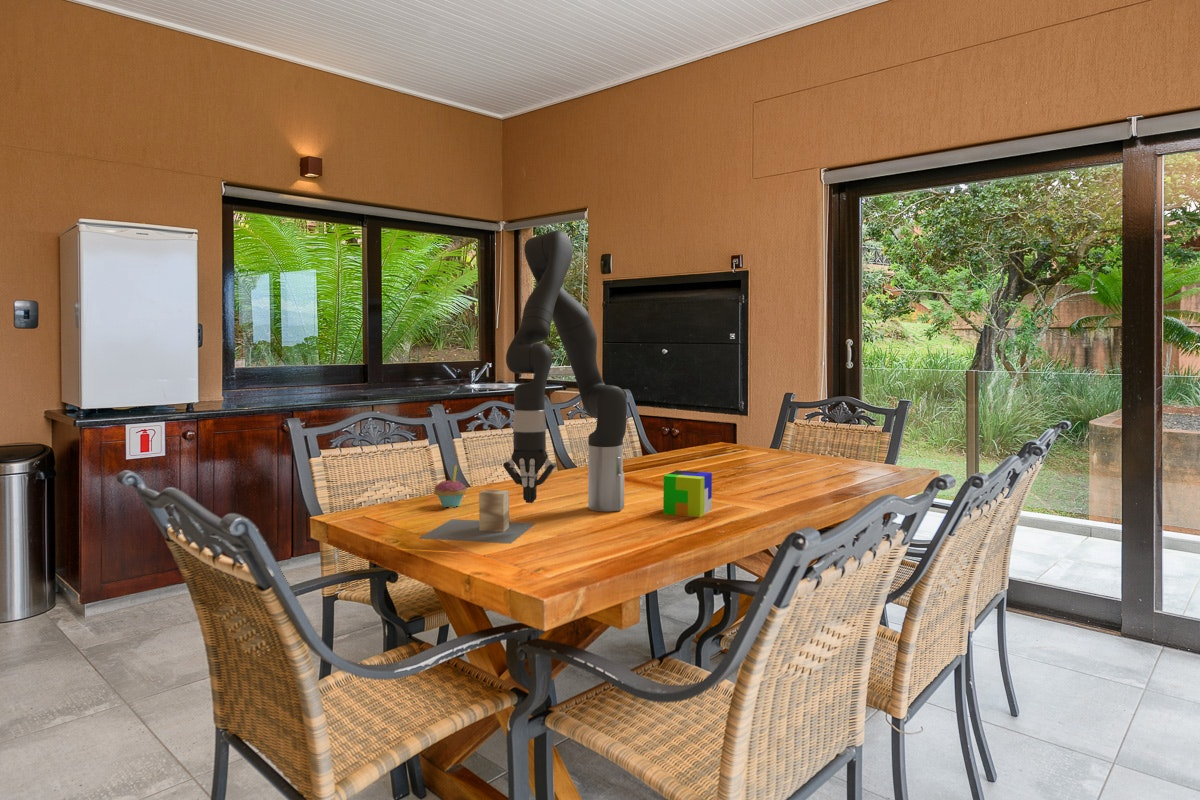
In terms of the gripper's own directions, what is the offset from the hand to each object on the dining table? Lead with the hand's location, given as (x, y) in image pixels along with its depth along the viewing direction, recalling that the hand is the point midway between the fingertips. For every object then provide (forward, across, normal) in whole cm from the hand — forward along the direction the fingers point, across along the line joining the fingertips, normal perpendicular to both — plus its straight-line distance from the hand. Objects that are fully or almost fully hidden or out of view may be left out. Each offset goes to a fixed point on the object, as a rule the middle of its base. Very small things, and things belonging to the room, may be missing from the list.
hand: (529, 502), depth 180 cm
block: (+7, +9, 0) cm, 11 cm away
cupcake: (+7, +30, -23) cm, 38 cm away
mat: (+7, +12, +2) cm, 14 cm away
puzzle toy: (+7, -34, -30) cm, 46 cm away
